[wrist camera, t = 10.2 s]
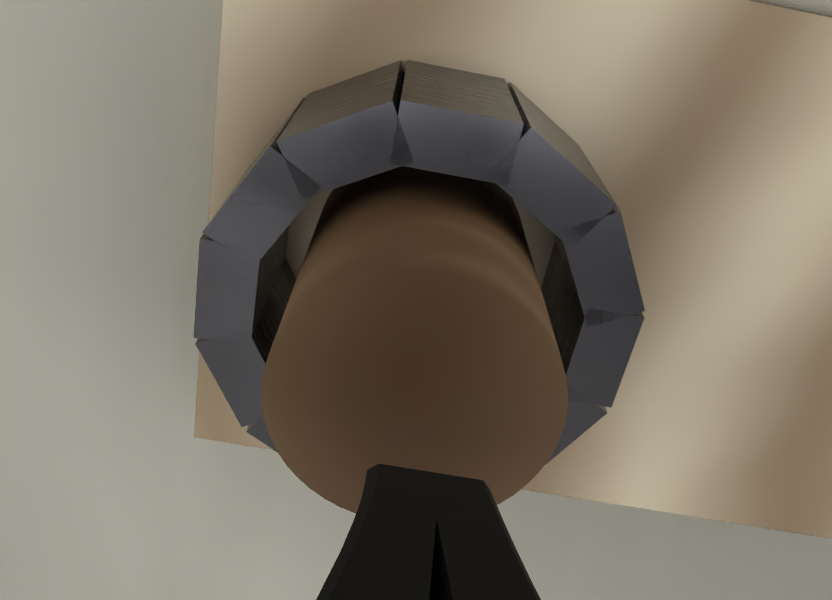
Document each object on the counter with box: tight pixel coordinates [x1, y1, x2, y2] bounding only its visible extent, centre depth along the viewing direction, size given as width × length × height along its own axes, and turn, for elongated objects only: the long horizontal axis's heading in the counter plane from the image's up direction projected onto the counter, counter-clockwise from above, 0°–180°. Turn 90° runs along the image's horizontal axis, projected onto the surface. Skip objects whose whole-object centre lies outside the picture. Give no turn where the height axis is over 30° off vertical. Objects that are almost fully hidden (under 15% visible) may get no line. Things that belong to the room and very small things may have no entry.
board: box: [194, 0, 832, 539], centre depth 17 cm, size 18×12×1 cm, turn 79°
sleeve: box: [194, 60, 645, 466], centre depth 15 cm, size 8×8×4 cm
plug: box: [261, 166, 568, 513], centre depth 14 cm, size 4×4×6 cm
